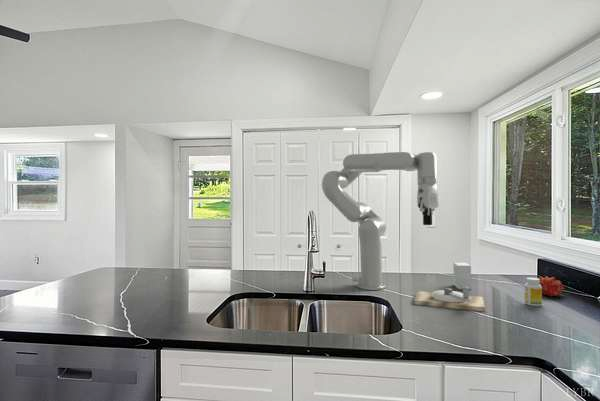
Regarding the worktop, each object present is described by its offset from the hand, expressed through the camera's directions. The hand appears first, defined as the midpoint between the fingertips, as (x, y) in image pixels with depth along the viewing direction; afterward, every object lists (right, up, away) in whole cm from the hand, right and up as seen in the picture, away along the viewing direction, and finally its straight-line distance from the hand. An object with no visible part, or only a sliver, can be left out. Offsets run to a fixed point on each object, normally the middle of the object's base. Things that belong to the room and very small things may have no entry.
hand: (427, 224), depth 147 cm
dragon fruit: (+47, -29, -6) cm, 56 cm away
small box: (+19, -29, +9) cm, 36 cm away
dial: (+4, -27, -15) cm, 32 cm away
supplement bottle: (+33, -29, -17) cm, 47 cm away
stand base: (+3, -29, -13) cm, 32 cm away
